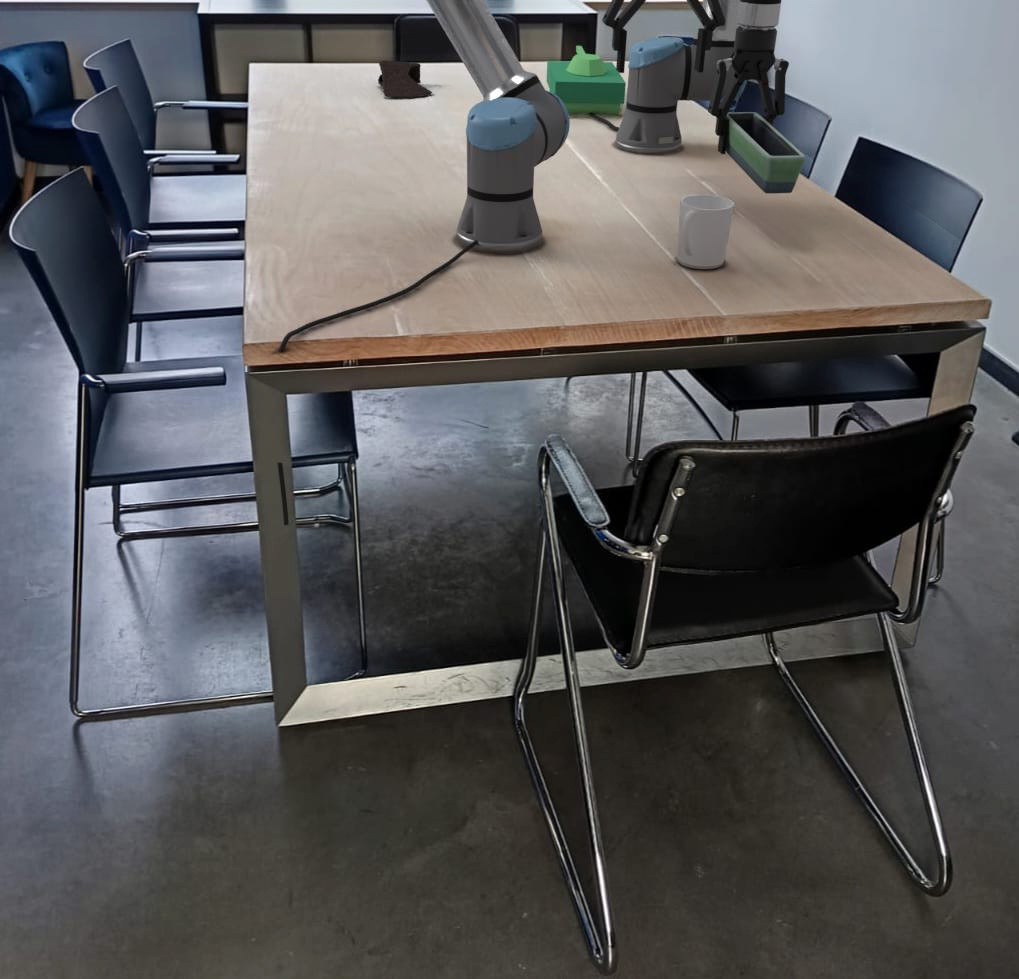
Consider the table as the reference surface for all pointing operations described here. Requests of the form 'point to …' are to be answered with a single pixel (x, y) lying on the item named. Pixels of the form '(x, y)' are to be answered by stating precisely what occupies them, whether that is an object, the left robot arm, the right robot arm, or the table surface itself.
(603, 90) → the toy tank
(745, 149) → the planter
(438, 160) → the table surface
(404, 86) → the axe head
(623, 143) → the right robot arm
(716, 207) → the mug
